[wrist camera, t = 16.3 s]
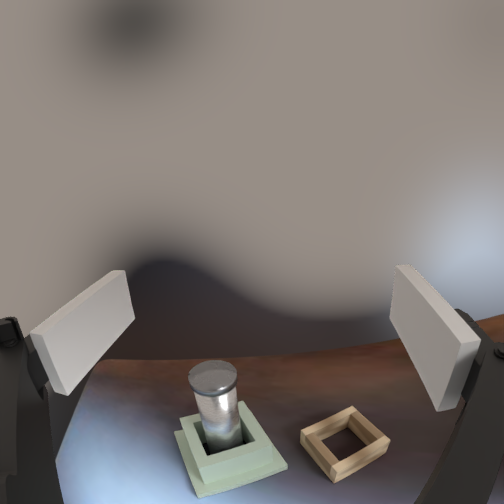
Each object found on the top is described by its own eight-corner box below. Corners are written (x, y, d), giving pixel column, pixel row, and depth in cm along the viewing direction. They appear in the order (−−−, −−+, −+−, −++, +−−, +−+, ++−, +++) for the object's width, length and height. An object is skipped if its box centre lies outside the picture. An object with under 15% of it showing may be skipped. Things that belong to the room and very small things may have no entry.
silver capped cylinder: (238, 436, 39) (227, 355, 34) (252, 461, 34) (244, 381, 30) (203, 446, 37) (183, 366, 32) (215, 472, 32) (195, 395, 28)
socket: (250, 414, 43) (248, 392, 41) (287, 468, 32) (288, 448, 31) (175, 435, 38) (167, 413, 37) (198, 498, 28) (190, 480, 26)
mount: (349, 419, 40) (352, 405, 39) (385, 452, 32) (390, 440, 31) (300, 442, 37) (301, 430, 36) (333, 483, 29) (337, 472, 28)
